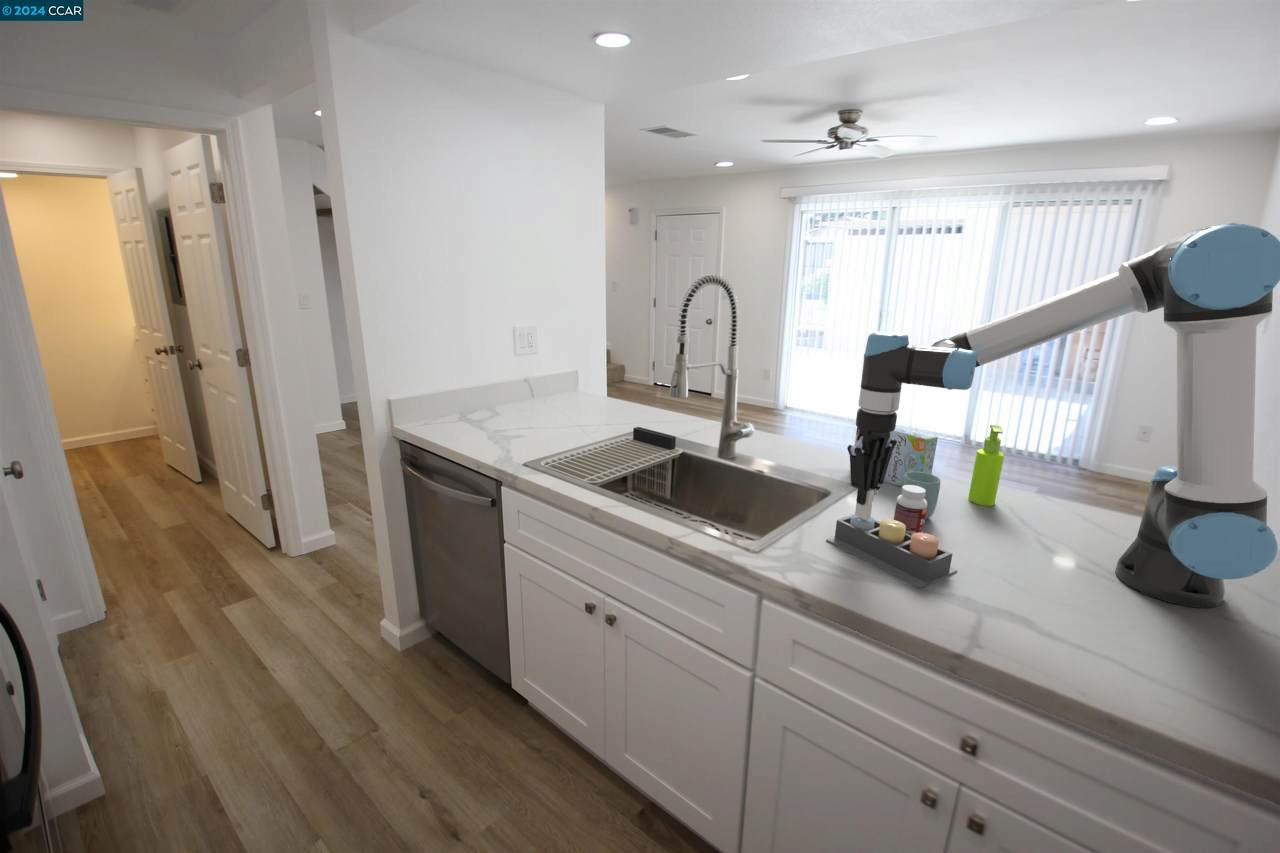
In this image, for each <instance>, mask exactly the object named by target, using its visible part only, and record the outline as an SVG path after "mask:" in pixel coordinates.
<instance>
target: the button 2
mask: <svg viewBox="0 0 1280 853" xmlns="http://www.w3.org/2000/svg"><path fill="white" fill-rule="evenodd" d="M879 522H880V528H879V535H878V537H879V538H881V539H883V540H886V541H888V542H890V543H892V544H894V545H898V544H901V543H903V542H904V536H905V530H906V526H905V524H903V523H902V522H899V521H896V520H894V519H888V518H887V519H882V520H880V521H879Z"/></svg>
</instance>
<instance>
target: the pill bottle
mask: <svg viewBox="0 0 1280 853" xmlns="http://www.w3.org/2000/svg"><path fill="white" fill-rule="evenodd" d="M901 493H902V495H901V494H900V495H898V496H897V498H896V501H895V508H894V515H893V520H896V521H899V522H902V523H903V524H905V526H906V530H905V533H907V534H909V535H912V534H914V533H924V527H925V521H926V519H925V516H926V510H927V501H926V500H925V499H924V497H925V493H926V490H925V489H924V488H922V487H919V486H915V485H904V486H903V487H901Z"/></svg>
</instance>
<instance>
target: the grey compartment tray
mask: <svg viewBox="0 0 1280 853" xmlns="http://www.w3.org/2000/svg"><path fill="white" fill-rule="evenodd" d="M852 515H855V514H852ZM852 515H848V516H845V517H841V518H839V519H836V523H835V533H834V536H831V537H828V538H826V539H825V540H826V542H828V543H830V544H832V545H834V546H836V547H838V548H839V549H842V550H844V551H846V552H848V553H849V554H852V555H854V556H855V557H857V558H858V559H861V560H863V561H865V562H867V563H869V564H871V565H873V566H875V567H877V568H879V569H881V570H883V571H884V572H887V573H889V574H890V575H893V576H894V577H897V578H898V579H900V580H902V581H904V582H906V583H908V584H910V585H912V586H914V587H915V588H918V589H923V588H924V587H927V586H929V585H931V584H934V583H935V582H938V581H940V580H943V579H945V578H947V577H950V576H951V575H954V574H956V573H958V569H955V568H953V567H951V566H952V558H953V552H950V551H948V550H946V549H943V548H940V547H939V546H938V550H937V556H936V557H935V558H932V559H930V560H927V559H925V558H922V557H920V556H918V555H916V554H914V553H912V552H909V548H910V542H911V535H909V534H907V533H905V536H904V542H903V543H901V544H898V545H894V544H892V543H890V542H888V541H886V540H883V539H881V538H879V537H878V535H879V528H880V522H881V521H879V520H877V519H875V518H873V519H874V520H875V524H874V529H871V530H869V531H864V530H862V529H860V528H857V527H855V526H853V525H851V524H850V521H851V516H852Z"/></svg>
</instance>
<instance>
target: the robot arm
mask: <svg viewBox="0 0 1280 853" xmlns="http://www.w3.org/2000/svg"><path fill="white" fill-rule="evenodd" d="M1279 282H1280V240H1279V239H1278V238H1277V237H1276V236H1275V235H1274V234H1272V233H1271V232H1269V231H1267V230H1265V229H1264V228H1262V227H1258V226H1255V225H1249V224H1244V223H1235V222H1234V223H1233V222H1232V223H1224V224H1222V223H1221V224H1220V223H1219V224H1216V225H1212V226H1209V227H1204V228H1199V229H1196V230H1191V231H1189V232H1186V233H1183V234H1181V235H1179V236H1177V237H1175V238H1173V239H1171V240H1169V241H1167V242H1165V243H1164V244H1162V245H1160V246H1159V247H1157V248H1154V249H1152V250H1150V251H1147V252H1146V253H1144V254H1141V255H1140V256H1137V257H1135V258H1133V259H1131V260H1128V261H1126V262H1122V264H1121V265H1120V266H1119V268H1118V269H1117V271H1116V272H1113V273H1111V274H1108V275H1106V276H1104V277H1103V276H1102V277H1100V278H1098V279H1095V280H1093V281H1091V282H1088V283H1086V284H1083V285H1081V286H1080V285H1079V286H1078V287H1075V288H1072V289H1070V290H1068V291H1067V290H1066V291H1065V292H1062V293H1060V294H1058V295H1055V296H1052V297H1050V298H1047V299H1044V300H1042V301H1040V302H1038V303H1035V304H1032V305H1029V306H1027V307H1025V308H1022V309H1019V310H1016V311H1015V312H1012V313H1009V314H1007V315H1004V316H1002V317H1000V318H996V319H994V320H991V321H988V322H986V323H984V324H981V325H979V326H977V327H974V328H971V329H968V330H967V331H965V332H963V333H959V334H956V335H954V336H951V337H948V338H943V339H939V340H938V341H936V342H934V343H933V344H932V345H930V346H928V345H927V346H924V345H917V344H916V345H913V344H910V341H909V336H908V334H906V333H901V332H896V331H895V332H894V331H874V332H872V333H871V334H868V337H867V339H866V346H865V351H864V353H863V363H862V364H863V365H862V373H861V382H860V391H859V396H858V397H859V398H858V406H859V408H858V409H857V411H856V418H855V426H856V428H857V427H858V428H859V430H860V431H859V434H858V436H857V442H856V443H855V442H854V444H853V445H852V444H849V445H847V448H846V449H847V452H848V454H849V468H850V486H851V487H853V488H855V489H857V494H856V499H855V500H856V504H855V505H856V506H855V512H854V513H855V516H858V517H860V518H862V519H864V520H867V519H870V517H872V509H873V502H874V498H875V493H876V492H875V490H877V491H879V490H880V489H881V486H879V485H883V483H884V482H885V481H884V478H885V475H886V471H887V468H888V465H889V461H890V458H891V455H892V451H893V449H894V447H895V445H896V443H897V441H896V440H894V439H891V438H890V432H892V431H894V430H895V427H896V426H897V419H898V414H897V411H898V410H899V406H900V398H901V390H902V385H903V384H906V385H917V386H922V387H923V386H925V387H931V388H933V387H934V388H938V389H939V388H941V389H947V390H950V391H951V390H959V391H960V390H962V391H965V390H966V391H967V390H969V389H971V388H972V386H973V383H974V382H973V381H974V376H975V371H976V368H978V367H980V366H984V365H985V364H989V363H992V362H994V361H997V360H1000V359H1004V358H1006V357H1009V356H1011V355H1012V356H1013V355H1014V354H1017V353H1019V352H1023V351H1025V350H1029V349H1031V348H1034V347H1036V346H1039V345H1043V344H1045V343H1048V342H1051V341H1054V340H1056V339H1060V338H1061V337H1066V336H1068V335H1071V334H1075V333H1076V332H1079V331H1082V330H1085V329H1088V328H1091V327H1094V326H1096V325H1100V324H1101V323H1105V322H1107V321H1110V320H1112V319H1116V318H1119V317H1121V316H1124V315H1127V314H1128V315H1129V314H1130V313H1132V312H1138V313H1140V314H1141V313H1142V314H1147V313H1151V312H1152V311H1155V310H1159V309H1162V308H1163V324H1165V325H1167V326H1168V327H1170V328H1171V329H1173V330H1174V331H1175V332H1176V465H1163V466H1160V467H1157V469H1156V470H1155V473H1154V475H1153V478H1152V479H1151V480H1150V483H1151V484H1150V489H1149V492H1148V495H1147V498H1146V503H1145V505H1144V506H1145V507H1144V510H1143V514H1142V518H1141V522H1140V524H1139V529H1138V532H1137V535H1136V538H1135V539H1134V540H1133V542H1132V543H1131V544H1130V545H1129V547H1128V548H1127V549H1126V550H1125V552H1124V553H1123V554H1122V555H1121V556H1120V557H1119V559H1118V561H1117V563H1116V567H1115V575H1116V576H1117V578H1118V579H1119V580H1120V581H1122V583H1124V584H1126V586H1127V585H1128V586H1129V587H1131V588H1133V589H1135V590H1136V591H1139V592H1140V593H1143V594H1145V595H1148V596H1150V597H1153V598H1155V599H1159V600H1161V601H1165V602H1168V603H1172V604H1176V605H1180V606H1186V607H1192V608H1202V609H1203V608H1205V609H1206V608H1207V609H1208V608H1216V607H1218V606H1219V605H1221V604H1222V602H1223V599H1224V595H1225V592H1226V590H1225V584H1224V580H1239V579H1244V578H1248V577H1252V576H1254V575H1256V574H1258V573H1259V572H1262V571H1264V570H1265V569H1267V568H1269V566H1270V565H1271V564H1272V563H1274V560H1276V557H1277V554H1278V551H1279V550H1278V542H1277V539H1276V534H1274V531H1273V530H1272V528H1270V526H1268V525H1267V522H1268V519H1267V518H1268V491H1267V490H1266V489H1265V488H1264V487H1262V486H1261V485H1259V484H1258V483H1256V482H1255V481H1254V457H1255V456H1254V451H1255V450H1254V449H1255V448H1254V447H1255V415H1256V414H1255V408H1256V402H1255V401H1256V369H1257V368H1256V364H1257V359H1256V358H1257V327H1258V325H1259V324H1260V323H1261V322H1263V321H1264V320H1265V319H1266V318H1268V317H1269V316H1271V315H1272V314H1273V299H1274V288H1275V287H1276V286H1277V285H1278V283H1279Z"/></svg>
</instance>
